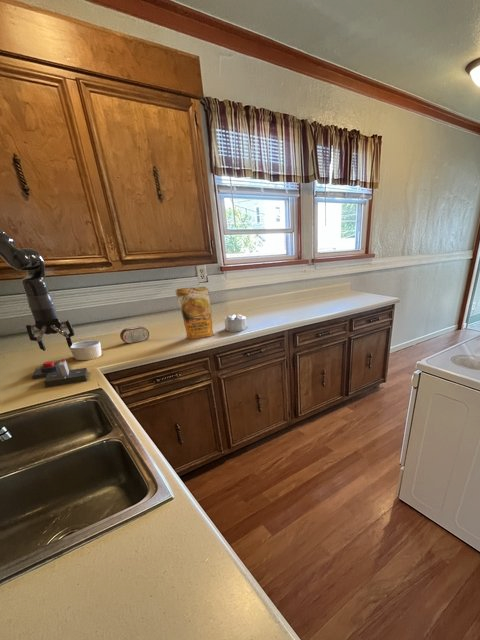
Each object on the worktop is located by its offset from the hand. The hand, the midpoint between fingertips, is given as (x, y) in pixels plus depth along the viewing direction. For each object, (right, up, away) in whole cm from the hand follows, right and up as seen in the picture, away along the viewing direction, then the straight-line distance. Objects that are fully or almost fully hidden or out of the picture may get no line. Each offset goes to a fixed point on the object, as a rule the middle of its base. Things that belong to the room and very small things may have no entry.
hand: (57, 348), depth 129 cm
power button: (-12, -6, +11) cm, 17 cm away
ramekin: (-9, 0, +33) cm, 34 cm away
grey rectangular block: (0, -10, +5) cm, 11 cm away
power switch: (-12, -9, +13) cm, 20 cm away
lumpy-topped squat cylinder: (+56, +25, +81) cm, 101 cm away
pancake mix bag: (+37, +17, +65) cm, 76 cm away
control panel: (0, -13, +6) cm, 14 cm away
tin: (+4, +12, +56) cm, 57 cm away
